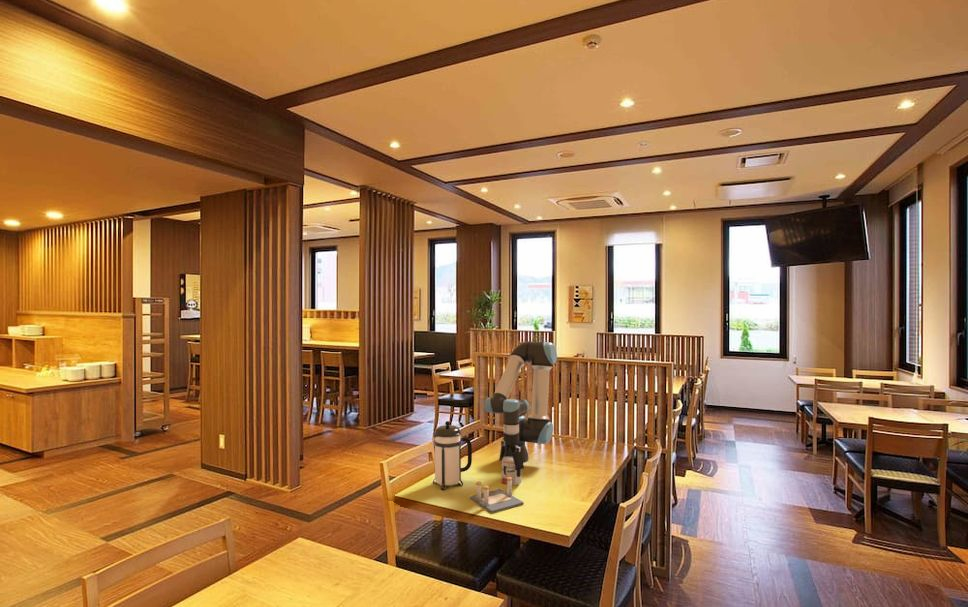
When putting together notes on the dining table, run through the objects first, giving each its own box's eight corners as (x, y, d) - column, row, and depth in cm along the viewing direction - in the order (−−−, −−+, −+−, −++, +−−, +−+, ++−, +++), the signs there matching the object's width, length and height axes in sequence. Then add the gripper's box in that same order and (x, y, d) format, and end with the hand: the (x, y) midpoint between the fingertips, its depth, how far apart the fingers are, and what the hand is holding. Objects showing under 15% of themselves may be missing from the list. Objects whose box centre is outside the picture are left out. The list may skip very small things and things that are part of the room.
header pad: (469, 498, 214) (469, 478, 214) (500, 490, 222) (499, 471, 222) (491, 513, 198) (491, 491, 198) (523, 504, 207) (523, 483, 207)
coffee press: (458, 492, 220) (457, 426, 220) (426, 488, 226) (426, 423, 226) (472, 479, 237) (472, 417, 237) (442, 475, 242) (442, 415, 242)
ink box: (501, 484, 231) (501, 458, 231) (504, 480, 235) (504, 455, 235) (519, 485, 228) (518, 460, 228) (521, 482, 233) (521, 457, 233)
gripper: (491, 428, 239) (492, 474, 239) (518, 439, 220) (518, 488, 220) (504, 426, 243) (504, 471, 243) (531, 436, 224) (531, 485, 224)
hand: (511, 479), depth 232 cm, fingers closed on ink box, 9 cm apart
